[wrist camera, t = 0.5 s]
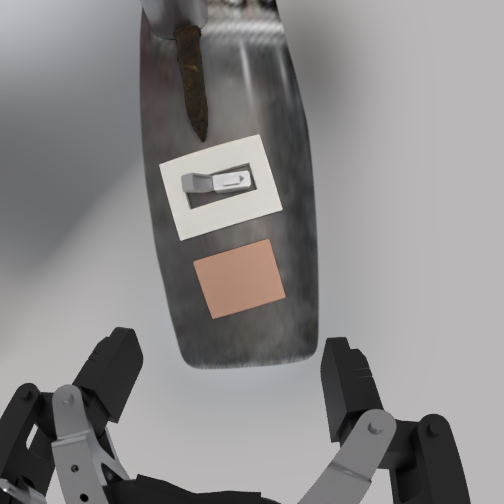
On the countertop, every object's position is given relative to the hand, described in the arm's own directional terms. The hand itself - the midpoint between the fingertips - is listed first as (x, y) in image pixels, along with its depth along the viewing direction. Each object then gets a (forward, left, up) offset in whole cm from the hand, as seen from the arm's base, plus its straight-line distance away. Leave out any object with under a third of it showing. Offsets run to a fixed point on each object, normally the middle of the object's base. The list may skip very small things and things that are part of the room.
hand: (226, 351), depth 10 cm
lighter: (-10, +1, -25) cm, 26 cm away
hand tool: (-25, +3, -25) cm, 36 cm away
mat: (+2, 0, -24) cm, 25 cm away
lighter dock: (-10, +1, -24) cm, 26 cm away
